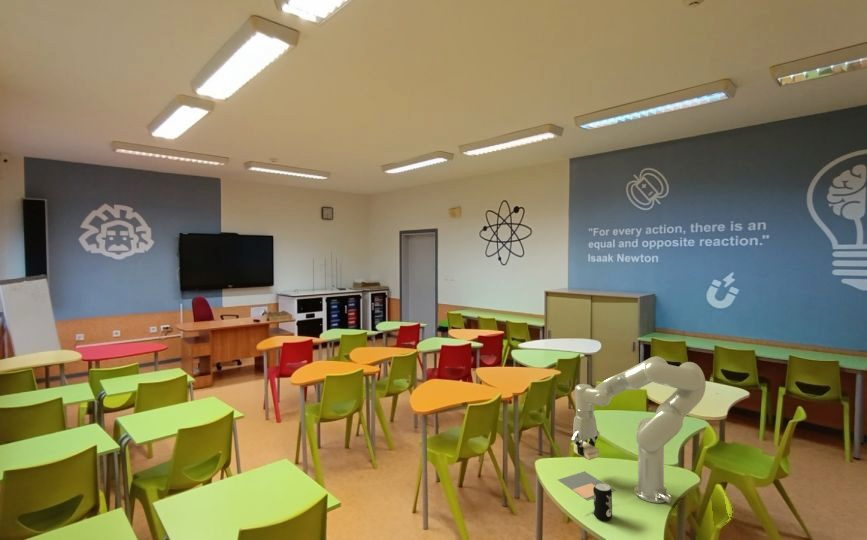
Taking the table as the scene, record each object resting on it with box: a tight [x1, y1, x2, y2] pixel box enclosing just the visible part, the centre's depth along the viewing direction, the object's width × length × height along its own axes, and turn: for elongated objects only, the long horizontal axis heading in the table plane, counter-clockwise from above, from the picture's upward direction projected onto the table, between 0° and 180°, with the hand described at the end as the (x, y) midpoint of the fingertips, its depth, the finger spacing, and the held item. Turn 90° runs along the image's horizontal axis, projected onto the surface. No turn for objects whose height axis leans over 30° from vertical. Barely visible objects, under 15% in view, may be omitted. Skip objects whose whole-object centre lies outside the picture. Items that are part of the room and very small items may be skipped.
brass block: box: [573, 440, 600, 461], centre depth 190 cm, size 9×6×4 cm, turn 24°
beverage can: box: [593, 481, 613, 522], centre depth 163 cm, size 7×7×12 cm
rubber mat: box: [557, 471, 617, 501], centre depth 185 cm, size 18×16×1 cm
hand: (586, 452), depth 190 cm, fingers closed on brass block, 6 cm apart
